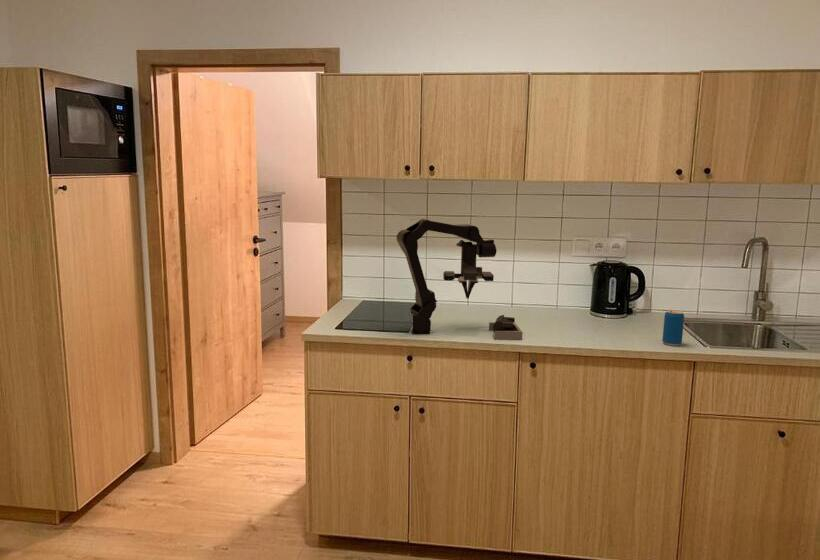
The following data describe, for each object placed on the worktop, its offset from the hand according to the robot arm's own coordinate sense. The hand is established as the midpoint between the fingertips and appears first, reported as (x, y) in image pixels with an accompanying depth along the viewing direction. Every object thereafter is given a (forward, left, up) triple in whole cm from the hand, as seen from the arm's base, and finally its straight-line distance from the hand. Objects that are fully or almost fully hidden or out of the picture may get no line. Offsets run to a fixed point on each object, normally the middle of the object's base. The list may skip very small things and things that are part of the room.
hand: (467, 298), depth 244 cm
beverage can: (+72, -20, -12) cm, 76 cm away
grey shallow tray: (+13, -9, -12) cm, 20 cm away
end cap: (+13, -9, -12) cm, 20 cm away
